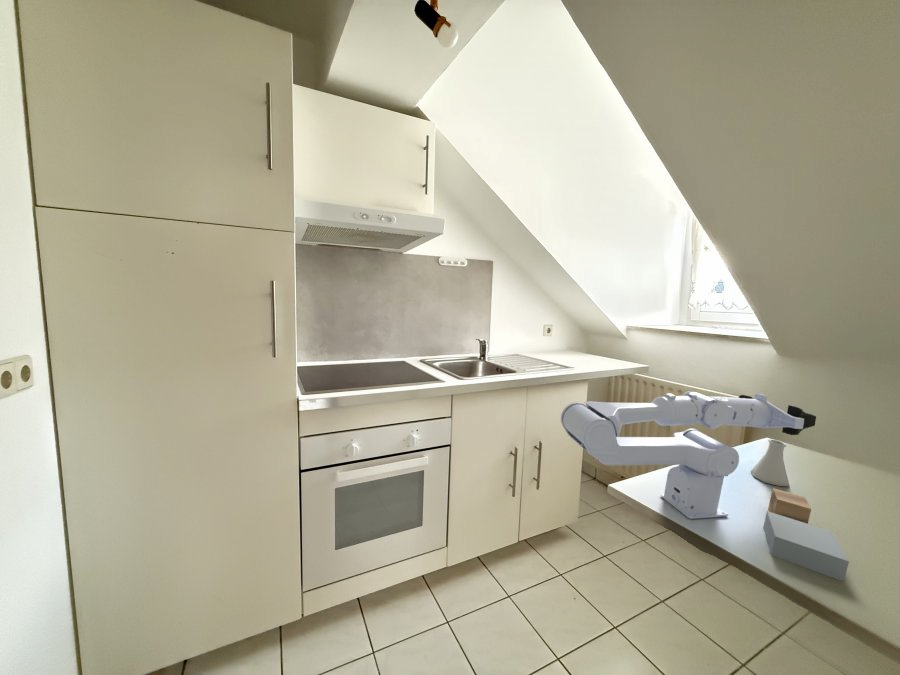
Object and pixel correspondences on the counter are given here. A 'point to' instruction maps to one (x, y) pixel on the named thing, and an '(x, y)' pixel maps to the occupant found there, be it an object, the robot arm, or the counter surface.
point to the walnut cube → (789, 505)
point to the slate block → (805, 545)
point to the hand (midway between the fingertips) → (792, 415)
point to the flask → (772, 465)
